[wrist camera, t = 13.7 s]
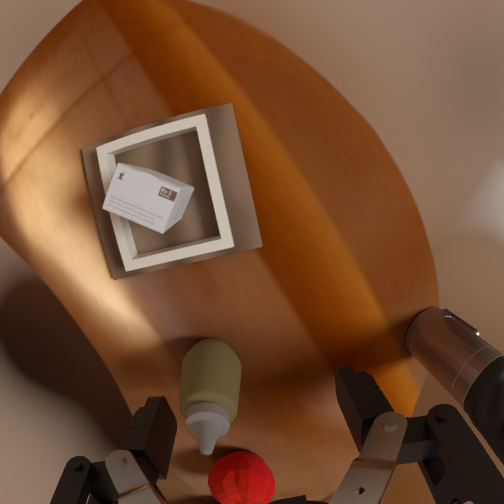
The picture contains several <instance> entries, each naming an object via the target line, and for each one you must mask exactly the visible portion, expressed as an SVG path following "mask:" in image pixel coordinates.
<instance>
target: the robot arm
mask: <svg viewBox="0 0 504 504" xmlns="http://www.w3.org/2000/svg"><path fill="white" fill-rule="evenodd" d="M405 344H406V348H407V350H408V351H409V352H410V353H411V354H412V355H413V356H414V357H415V358H416V359H417V360H418V361H419V363H420V364H421V365H422V366H423V367H424V368H425V369H426V370H427V371H428V372H429V373H430V374H431V375H432V376H433V377H434V378H435V379H436V380H437V381H438V382H439V384H440V385H441V386H442V387H443V388H444V389H445V390H446V391H447V392H448V393H449V394H450V395H451V396H452V397H453V399H454V400H455V401H456V402H457V403H458V404H459V405H460V406H461V407H462V408H463V409H464V411H465V412H466V413H467V414H468V415H469V417H470V419H471V421H472V423H473V425H474V426H475V427H476V428H477V430H478V431H479V432H480V433H481V435H482V436H483V437H484V438H485V440H486V441H487V443H488V444H489V446H490V447H491V448H492V450H493V451H494V453H495V454H496V456H497V457H498V458H499V460H500V461H501V462H502V464H503V465H504V354H503V353H501V352H500V351H499V350H497V349H496V348H494V347H493V346H492V345H490V344H489V343H488V342H486V341H485V340H483V339H482V338H481V337H480V336H479V331H478V330H477V329H476V328H474V327H473V326H471V325H470V324H468V323H467V322H466V321H464V320H462V319H461V318H460V317H458V316H457V315H455V314H454V313H452V312H451V311H449V310H448V309H443V310H442V309H440V308H437V307H431V308H428V309H426V310H424V311H423V312H421V313H420V314H419V315H418V316H417V317H416V318H415V319H414V320H413V322H412V323H411V325H410V327H409V329H408V331H407V334H406V339H405ZM335 384H336V396H337V400H338V404H339V406H340V408H341V411H342V413H343V415H344V418H345V420H346V422H347V425H348V427H349V430H350V432H351V434H352V437H353V439H354V442H355V444H356V446H357V449H358V451H359V453H360V454H359V456H358V457H357V459H354V460H353V461H352V463H351V465H350V467H349V469H348V471H347V473H346V474H345V476H344V478H343V480H342V482H341V484H340V485H339V487H338V489H337V491H336V492H335V494H334V496H333V498H332V499H331V501H330V502H329V503H326V502H321V501H307V500H306V495H302V496H297V497H292V498H286V499H280V500H276V501H274V502H271V503H268V504H381V502H382V500H383V497H384V495H385V493H386V490H387V488H388V485H389V483H390V480H391V478H392V475H393V473H394V470H395V468H396V465H398V464H405V463H412V462H418V465H419V467H420V469H421V471H422V473H423V475H424V478H425V479H426V482H427V484H428V486H429V489H430V491H431V493H432V495H433V498H434V500H435V502H436V504H504V478H503V477H502V475H501V473H500V472H499V470H498V469H497V467H496V466H495V464H494V462H493V461H492V460H491V458H490V456H489V455H488V453H487V452H486V450H485V449H484V447H483V446H482V444H481V443H480V441H479V440H478V439H477V437H476V436H475V434H474V433H473V431H472V430H471V429H470V427H469V426H468V424H467V423H466V421H465V420H464V419H463V417H462V416H461V415H460V413H459V412H458V410H457V409H456V408H455V407H454V406H452V405H449V404H439V405H436V406H434V407H433V408H432V409H430V410H429V412H428V414H427V415H426V416H420V417H412V418H408V417H405V416H404V415H403V414H401V413H398V412H395V411H394V410H393V408H392V407H391V405H390V403H389V402H388V400H387V399H386V397H385V396H384V394H383V392H382V391H381V390H380V388H379V386H378V385H377V383H376V381H375V380H374V378H373V377H372V376H371V375H370V374H368V373H366V372H365V371H362V372H359V373H356V371H355V370H354V368H353V366H352V365H351V364H348V365H345V366H341V367H338V368H335ZM176 431H177V421H176V418H175V416H174V414H173V412H172V410H171V408H170V406H169V404H168V402H167V400H166V398H165V397H164V396H157V397H148V399H147V401H146V404H145V406H144V407H140V408H139V409H138V410H137V412H136V413H135V414H134V416H133V418H132V421H131V423H130V426H129V429H128V431H127V433H126V435H125V438H124V441H123V443H122V446H121V448H120V450H117V451H114V452H112V453H111V454H110V455H109V456H108V457H107V459H106V461H101V462H94V463H91V462H90V461H89V460H88V459H87V458H86V457H84V456H76V457H73V458H72V459H70V460H69V461H68V462H67V464H66V466H65V468H64V471H63V473H62V475H61V478H60V480H59V483H58V485H57V488H56V490H55V493H54V495H53V497H52V500H51V502H50V504H86V502H87V498H88V495H90V497H89V500H88V503H87V504H118V503H119V504H170V503H169V501H168V500H167V499H166V497H165V496H164V495H163V493H162V492H161V490H160V489H159V487H158V486H157V485H156V483H157V479H165V480H166V477H167V473H168V468H169V463H170V459H171V454H172V449H173V445H174V440H175V436H176Z"/></svg>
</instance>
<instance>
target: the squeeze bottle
mask: <svg viewBox="0 0 504 504" xmlns="http://www.w3.org/2000/svg"><path fill="white" fill-rule="evenodd" d="M241 370H242V366H241V363H240V361H239V358H238V356H237V355H236V354H235V352H234V351H233V350H232V348H231V347H230V346H229V345H228V344H227V343H226V342H224V341H222V340H220V339H216V338H207V339H203V340H201V341H199V342H198V343H197V344H195V345H194V346H193V347H192V348H191V349H190V350H189V351H188V352H187V353H186V355H185V356H184V358H183V360H182V368H181V388H180V411H181V413H182V414H183V416H184V418H186V427H187V429H188V430H189V432H191V433H192V434H194V435H195V436H197V441H198V445H199V450H200V453H201V454H202V455H207V456H208V455H211V454H212V452H213V449H214V446H215V444H216V441H217V438H219V437H222V436H224V435H225V434H226V433H227V432H228V431H229V428H230V423H231V422H232V421H233V420H234V419H235V417H236V416H237V411H238V402H239V391H240V381H241Z"/></svg>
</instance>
